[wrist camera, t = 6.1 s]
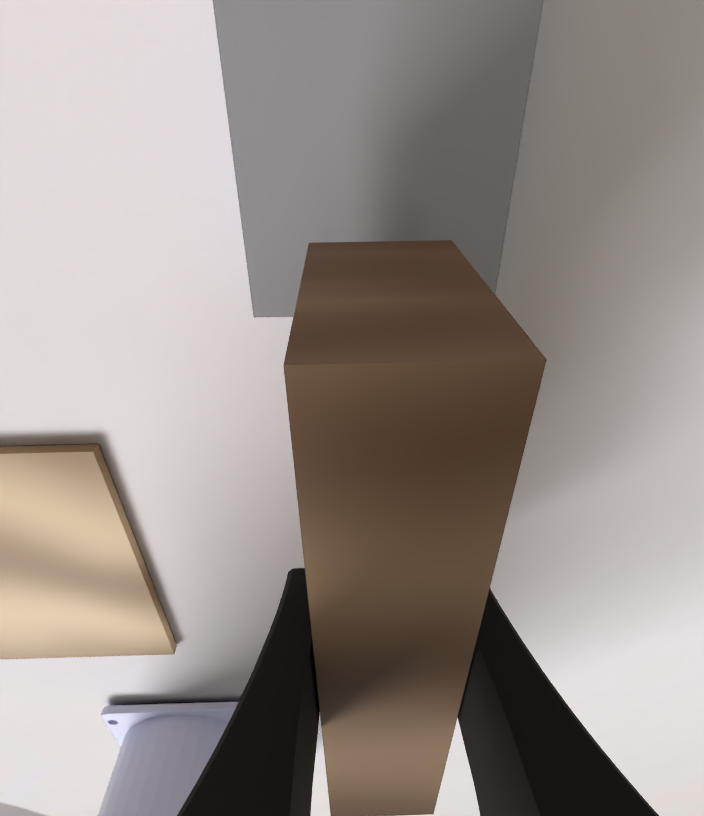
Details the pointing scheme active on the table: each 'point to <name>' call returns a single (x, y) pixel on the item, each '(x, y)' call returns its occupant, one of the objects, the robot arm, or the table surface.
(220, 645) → the table surface
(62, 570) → the mat
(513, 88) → the tile
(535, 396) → the brown wooden block
